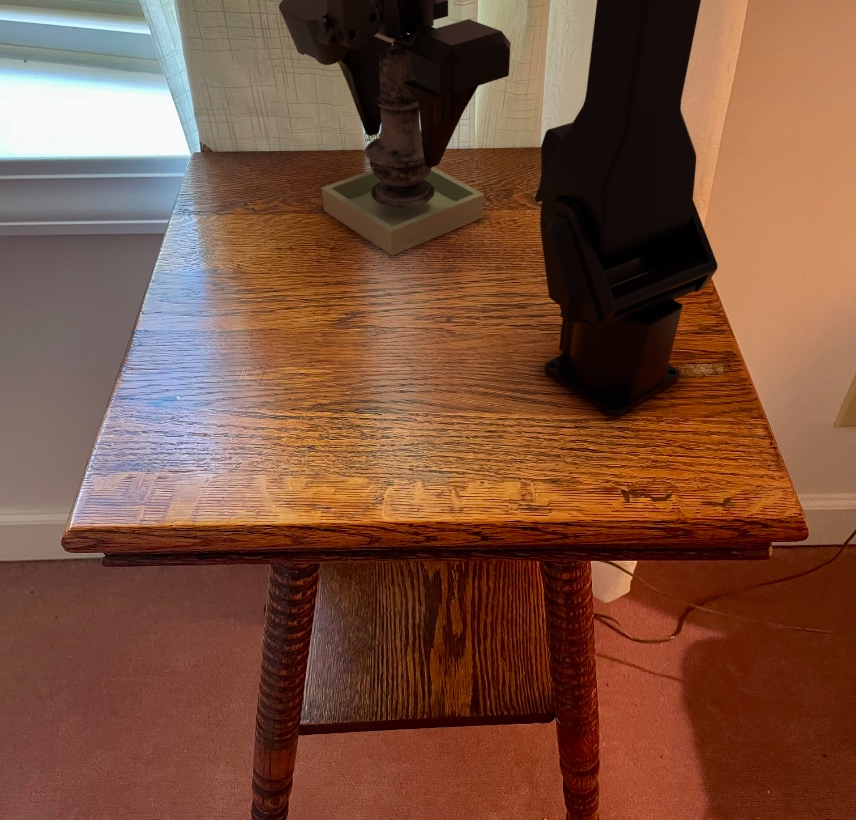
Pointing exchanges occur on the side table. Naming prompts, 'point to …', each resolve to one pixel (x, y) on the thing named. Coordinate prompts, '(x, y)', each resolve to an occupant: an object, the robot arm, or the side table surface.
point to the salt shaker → (398, 137)
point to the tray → (402, 210)
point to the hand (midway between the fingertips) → (401, 149)
